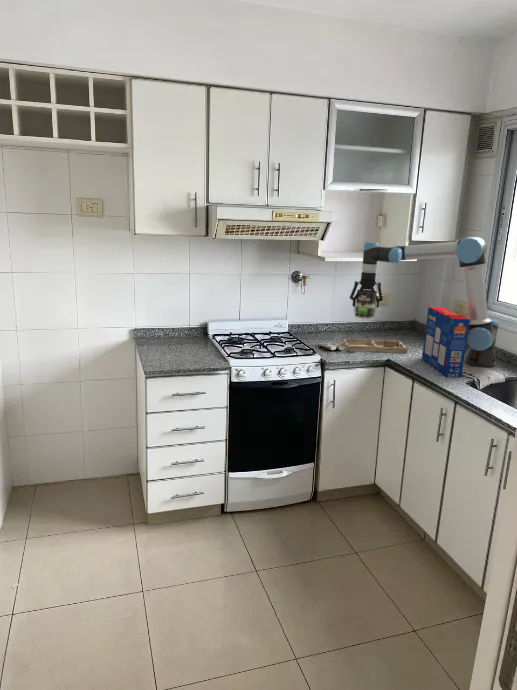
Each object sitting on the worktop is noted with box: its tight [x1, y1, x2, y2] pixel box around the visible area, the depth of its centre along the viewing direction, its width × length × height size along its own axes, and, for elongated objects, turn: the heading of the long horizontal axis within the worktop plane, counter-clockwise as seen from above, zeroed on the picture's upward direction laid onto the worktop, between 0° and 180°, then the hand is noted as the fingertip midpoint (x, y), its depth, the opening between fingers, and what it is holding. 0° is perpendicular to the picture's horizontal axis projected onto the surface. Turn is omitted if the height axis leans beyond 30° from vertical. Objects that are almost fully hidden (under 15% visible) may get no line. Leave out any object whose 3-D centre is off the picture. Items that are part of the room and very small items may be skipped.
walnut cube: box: [383, 339, 395, 347], centre depth 283 cm, size 4×4×4 cm
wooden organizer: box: [342, 338, 409, 354], centre depth 284 cm, size 16×32×4 cm, turn 90°
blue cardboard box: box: [421, 306, 470, 378], centre depth 252 cm, size 28×8×28 cm, turn 5°
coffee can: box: [354, 289, 378, 320], centre depth 278 cm, size 10×10×14 cm
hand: (364, 313), depth 279 cm, fingers closed on coffee can, 10 cm apart
